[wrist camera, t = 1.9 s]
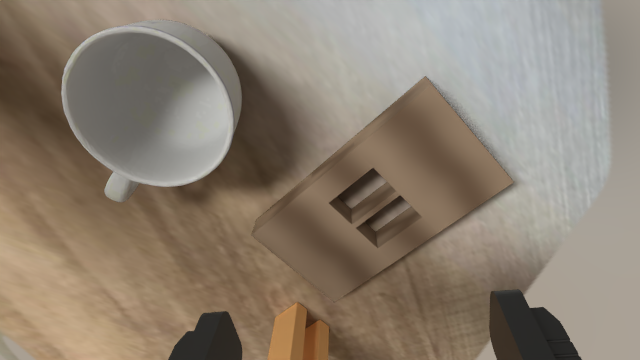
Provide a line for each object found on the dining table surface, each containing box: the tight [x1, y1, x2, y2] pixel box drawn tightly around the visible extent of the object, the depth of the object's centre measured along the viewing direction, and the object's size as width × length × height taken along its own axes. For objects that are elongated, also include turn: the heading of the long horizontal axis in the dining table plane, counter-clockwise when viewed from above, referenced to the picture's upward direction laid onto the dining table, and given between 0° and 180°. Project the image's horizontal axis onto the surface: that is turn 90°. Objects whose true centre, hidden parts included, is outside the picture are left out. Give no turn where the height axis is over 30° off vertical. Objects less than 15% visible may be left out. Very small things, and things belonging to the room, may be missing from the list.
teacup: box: [61, 20, 242, 202], centre depth 29 cm, size 14×11×8 cm
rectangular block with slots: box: [251, 76, 514, 302], centre depth 35 cm, size 20×11×2 cm, turn 134°
